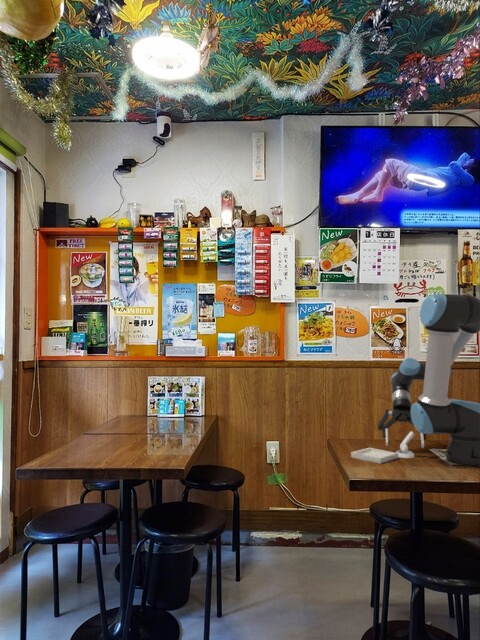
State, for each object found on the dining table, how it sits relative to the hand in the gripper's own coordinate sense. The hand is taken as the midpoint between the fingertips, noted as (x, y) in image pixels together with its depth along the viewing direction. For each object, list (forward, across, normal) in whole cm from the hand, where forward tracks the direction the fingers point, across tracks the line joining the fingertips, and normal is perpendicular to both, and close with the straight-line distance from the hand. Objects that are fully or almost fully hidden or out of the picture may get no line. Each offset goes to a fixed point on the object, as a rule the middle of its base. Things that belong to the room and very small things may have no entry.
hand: (404, 444), depth 177 cm
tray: (+7, +12, 0) cm, 14 cm away
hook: (+2, 0, -5) cm, 5 cm away
